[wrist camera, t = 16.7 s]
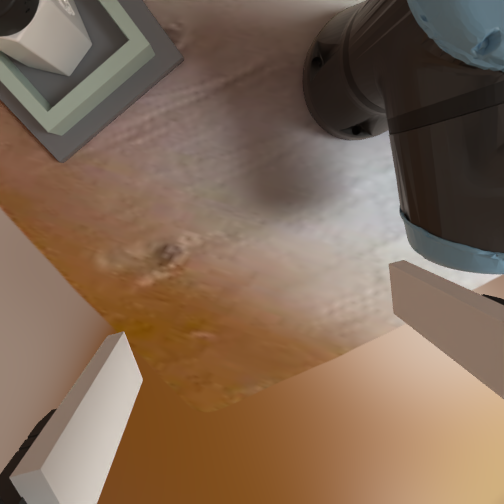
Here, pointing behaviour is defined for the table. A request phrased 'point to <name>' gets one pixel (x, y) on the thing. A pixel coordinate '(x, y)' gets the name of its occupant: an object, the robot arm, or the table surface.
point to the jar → (43, 34)
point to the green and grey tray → (91, 76)
